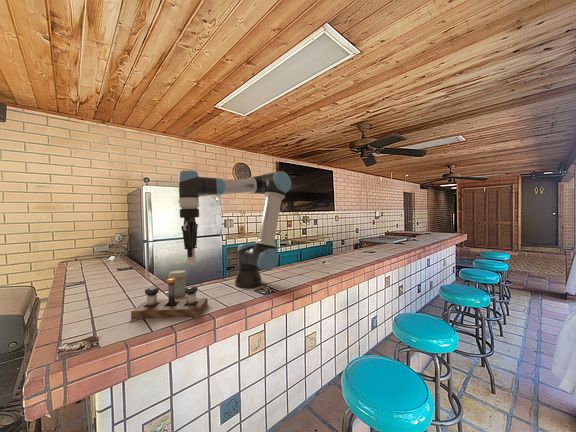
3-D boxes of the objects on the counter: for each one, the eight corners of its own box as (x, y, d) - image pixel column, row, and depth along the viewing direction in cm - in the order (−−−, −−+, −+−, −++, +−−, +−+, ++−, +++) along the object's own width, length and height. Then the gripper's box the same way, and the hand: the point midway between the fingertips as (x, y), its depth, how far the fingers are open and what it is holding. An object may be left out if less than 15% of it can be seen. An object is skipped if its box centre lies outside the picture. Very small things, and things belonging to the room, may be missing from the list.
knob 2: (199, 307, 102) (198, 285, 102) (195, 312, 97) (195, 289, 97) (187, 308, 102) (187, 286, 102) (183, 313, 97) (182, 289, 97)
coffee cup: (164, 297, 116) (164, 272, 116) (179, 291, 124) (179, 268, 123) (176, 299, 112) (175, 274, 112) (191, 294, 120) (190, 270, 119)
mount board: (207, 304, 106) (207, 297, 106) (199, 316, 94) (198, 308, 94) (147, 306, 104) (147, 299, 104) (131, 318, 92) (131, 311, 92)
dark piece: (177, 302, 101) (177, 278, 101) (174, 305, 98) (173, 280, 97) (169, 302, 101) (168, 278, 101) (165, 305, 97) (165, 280, 97)
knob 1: (161, 309, 101) (160, 286, 101) (155, 314, 96) (154, 290, 96) (149, 309, 101) (148, 287, 101) (142, 314, 96) (142, 291, 96)
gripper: (186, 208, 105) (188, 261, 106) (173, 208, 92) (175, 268, 93) (203, 208, 106) (205, 260, 106) (193, 207, 93) (195, 267, 93)
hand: (191, 264), depth 100 cm, fingers closed
